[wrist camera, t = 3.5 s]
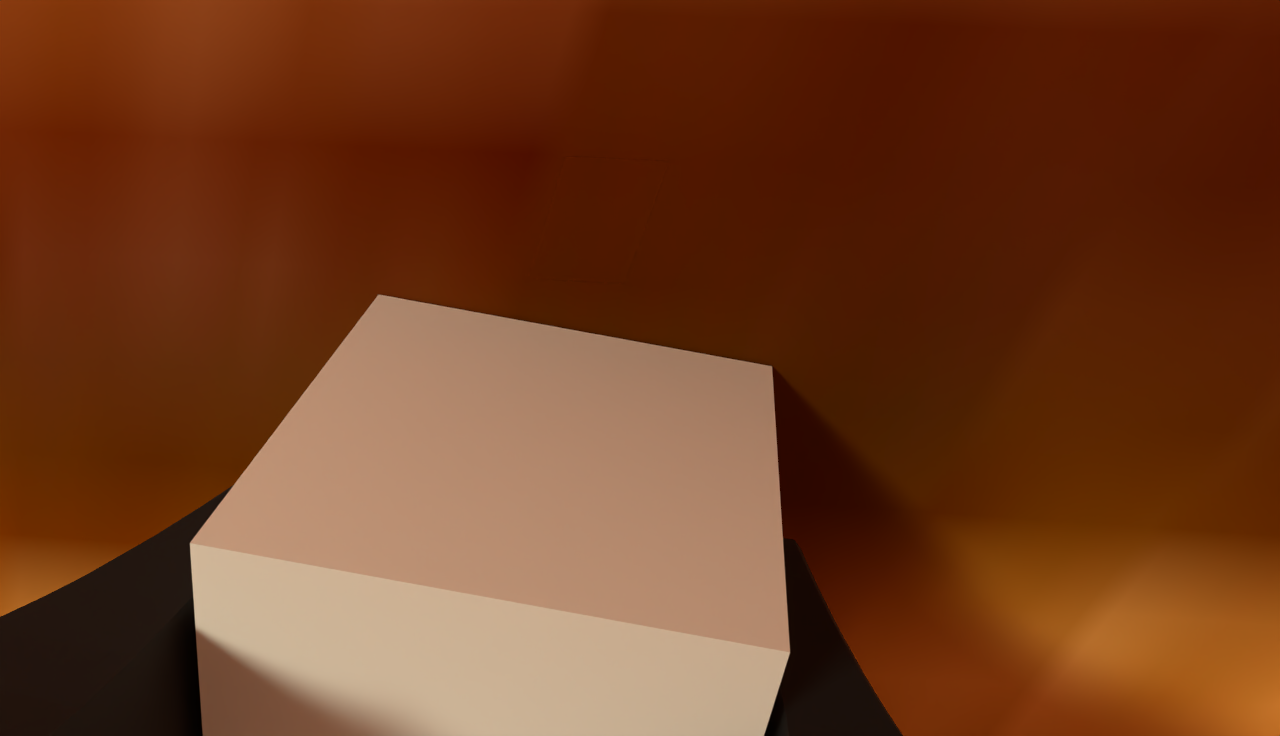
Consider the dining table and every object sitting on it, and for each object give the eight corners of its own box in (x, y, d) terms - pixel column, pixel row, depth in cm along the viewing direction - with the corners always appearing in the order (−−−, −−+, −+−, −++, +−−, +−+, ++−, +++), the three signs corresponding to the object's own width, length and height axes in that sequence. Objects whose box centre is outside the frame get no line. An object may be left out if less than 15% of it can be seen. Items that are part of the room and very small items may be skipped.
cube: (366, 597, 15) (214, 914, 11) (378, 294, 13) (189, 543, 8) (697, 657, 15) (681, 998, 11) (771, 366, 13) (789, 653, 8)
